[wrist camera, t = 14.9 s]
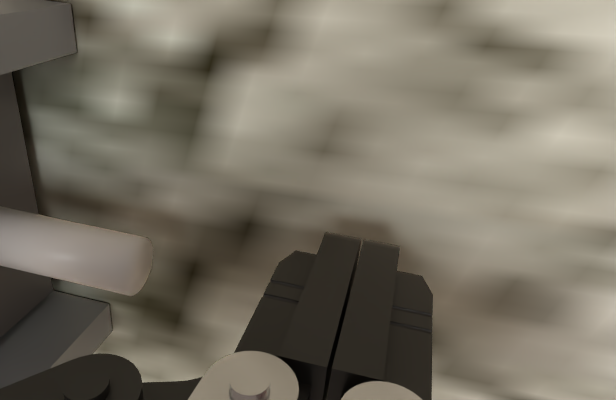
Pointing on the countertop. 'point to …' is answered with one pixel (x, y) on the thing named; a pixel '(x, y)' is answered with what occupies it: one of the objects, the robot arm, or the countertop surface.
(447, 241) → the countertop surface
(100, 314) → the lane
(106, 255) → the pusher
